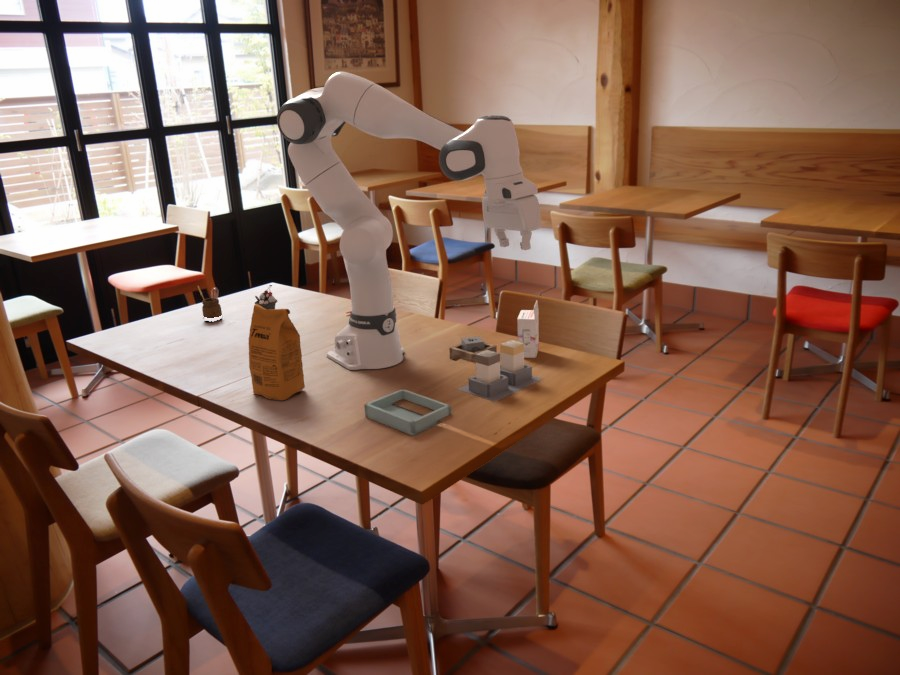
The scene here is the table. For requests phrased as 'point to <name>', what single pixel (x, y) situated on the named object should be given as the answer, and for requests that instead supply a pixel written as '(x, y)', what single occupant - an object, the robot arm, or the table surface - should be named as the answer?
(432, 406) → the tray
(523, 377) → the block
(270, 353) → the coffee package
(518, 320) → the ink cartridge box
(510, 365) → the block
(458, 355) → the dice corral
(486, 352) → the block
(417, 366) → the table surface
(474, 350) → the dice cube
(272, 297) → the sundae
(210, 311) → the utensil holder
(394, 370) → the table surface
